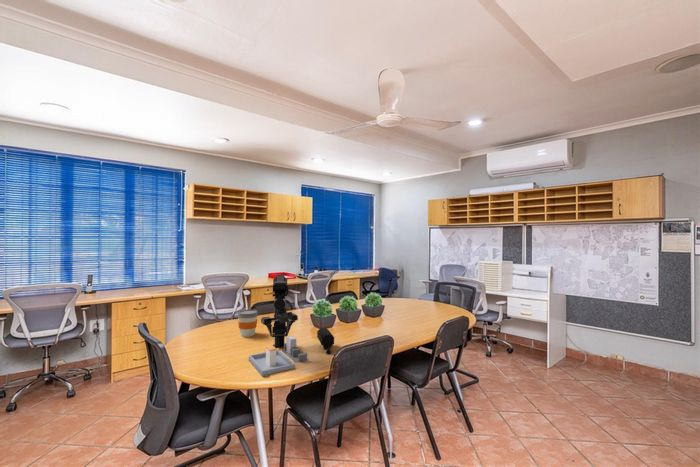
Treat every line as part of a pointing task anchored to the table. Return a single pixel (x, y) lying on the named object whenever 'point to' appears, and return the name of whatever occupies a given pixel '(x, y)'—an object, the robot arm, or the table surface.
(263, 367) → the tray
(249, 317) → the reusable coffee cup
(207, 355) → the table surface
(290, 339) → the block
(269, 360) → the block
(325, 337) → the security camera
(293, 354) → the clip block
